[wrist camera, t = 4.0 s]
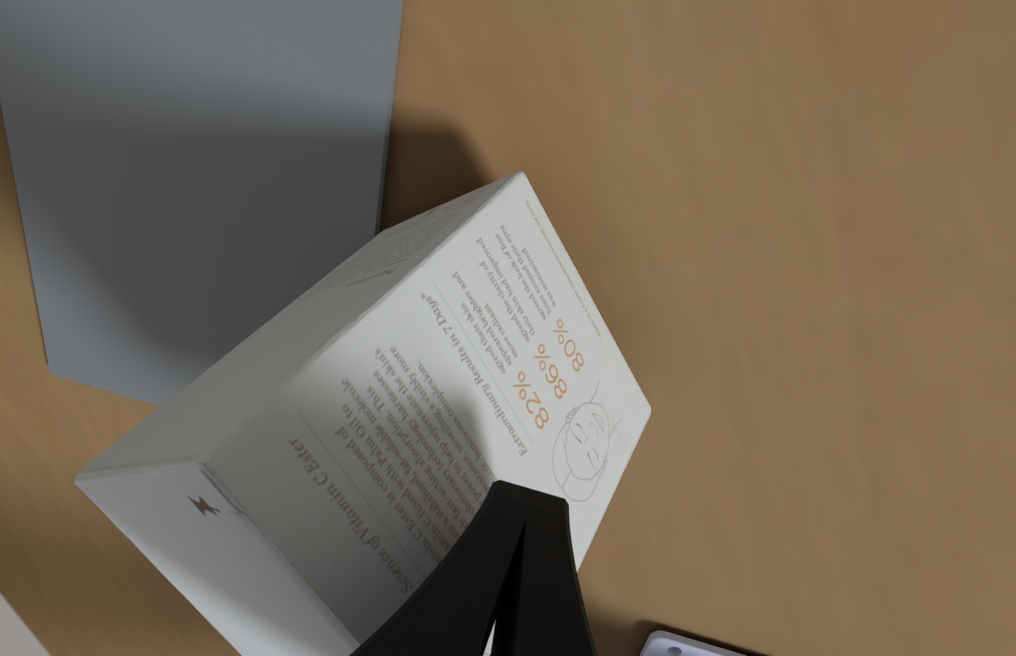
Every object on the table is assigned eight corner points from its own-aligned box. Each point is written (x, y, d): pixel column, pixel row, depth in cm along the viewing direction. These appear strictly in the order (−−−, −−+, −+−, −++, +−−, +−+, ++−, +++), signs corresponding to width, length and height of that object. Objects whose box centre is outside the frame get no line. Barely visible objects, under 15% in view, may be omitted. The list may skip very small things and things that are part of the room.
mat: (407, -28, 16) (401, -28, 16) (355, 455, 24) (350, 462, 24) (-29, -131, 17) (-43, -133, 17) (58, 369, 25) (50, 374, 25)
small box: (385, 224, 20) (56, 471, 12) (528, 161, 16) (182, 458, 9) (512, 428, 22) (302, 730, 15) (659, 412, 19) (477, 799, 11)
